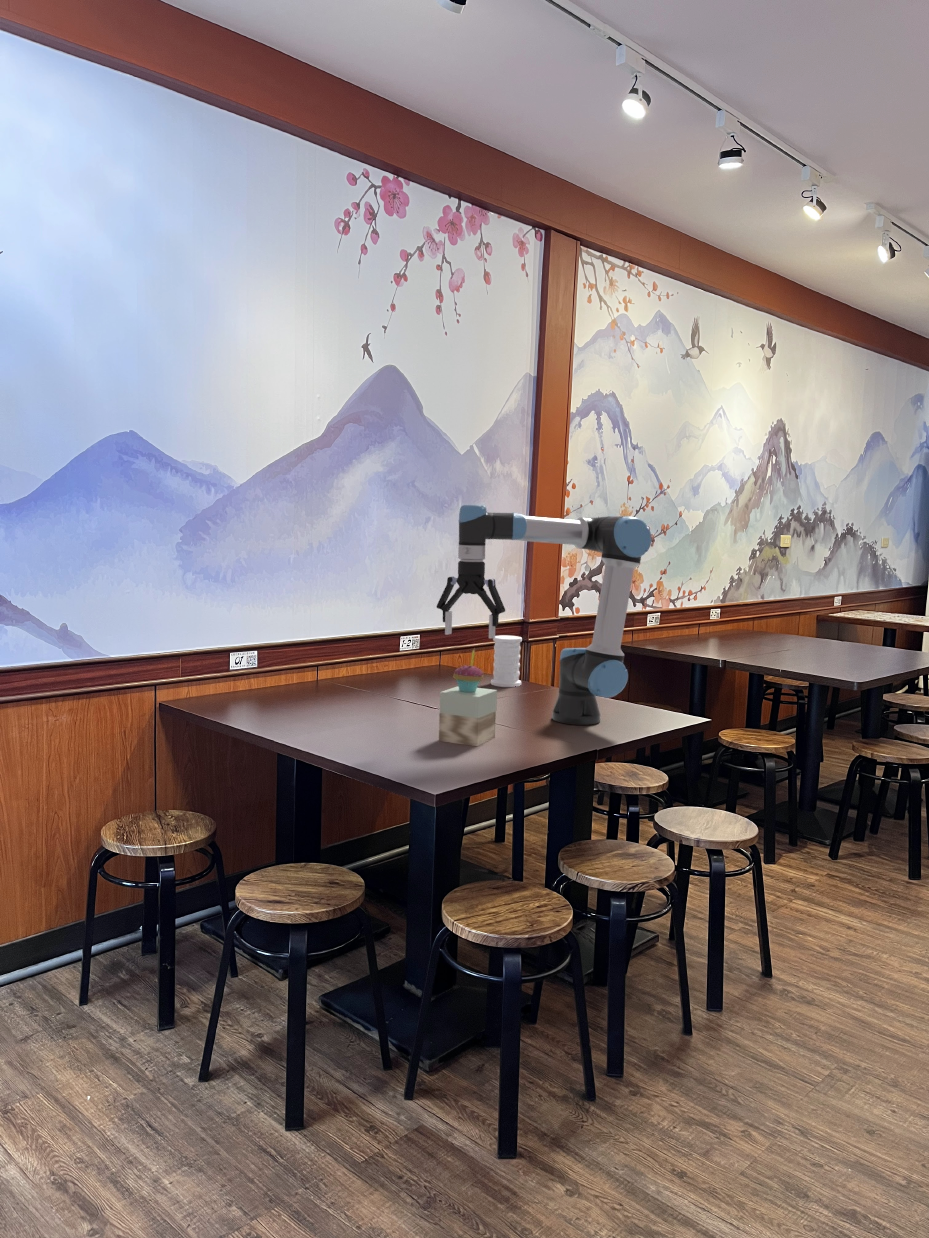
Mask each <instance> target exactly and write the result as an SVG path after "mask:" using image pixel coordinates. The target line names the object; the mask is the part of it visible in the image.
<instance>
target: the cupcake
mask: <svg viewBox="0 0 929 1238" xmlns="http://www.w3.org/2000/svg"><path fill="white" fill-rule="evenodd" d="M475 654H476V652H475V647H474V648H473V650H472V652H471V657H470V665H466V664H464V665H461V666H460V667H457V668H456V669H455V670H454V672H453V675H452V677H453V679H455V680H456V682H457V686H459V690H460V691H462V692H475V691H476V689H477V688H478V686H479V683H480V681H482V680H483V678H484V672H483V671H482V669H480V668H478V667H477V666H476V665H474V662H475V661H474V659H475Z"/></svg>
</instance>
